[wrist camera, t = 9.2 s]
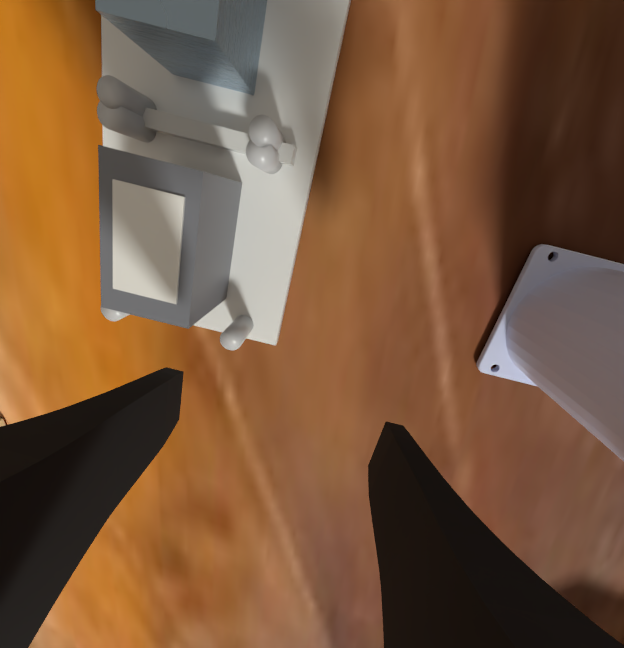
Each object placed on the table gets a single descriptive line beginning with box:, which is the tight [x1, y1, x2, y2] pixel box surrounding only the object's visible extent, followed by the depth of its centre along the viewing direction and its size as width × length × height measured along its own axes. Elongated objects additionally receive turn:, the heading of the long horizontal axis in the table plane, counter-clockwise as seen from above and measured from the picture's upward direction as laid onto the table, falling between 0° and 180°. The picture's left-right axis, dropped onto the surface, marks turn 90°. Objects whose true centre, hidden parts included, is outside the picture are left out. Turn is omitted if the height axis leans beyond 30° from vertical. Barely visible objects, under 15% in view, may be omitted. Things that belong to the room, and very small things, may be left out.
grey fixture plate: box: [97, 0, 351, 350], centre depth 13 cm, size 11×21×6 cm, turn 167°
